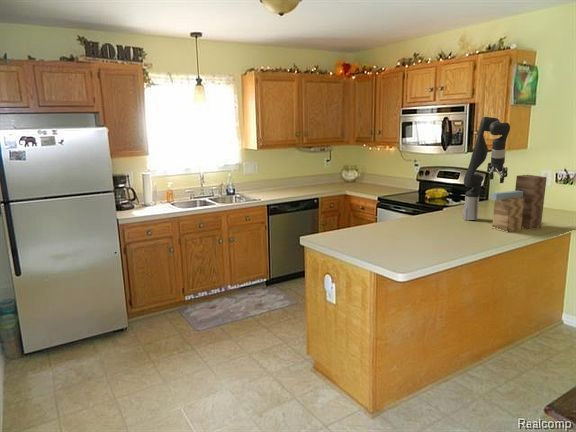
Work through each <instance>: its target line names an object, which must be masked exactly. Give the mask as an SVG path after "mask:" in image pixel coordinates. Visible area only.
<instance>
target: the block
mask: <svg viewBox="0 0 576 432" xmlns="http://www.w3.org/2000/svg"><path fill="white" fill-rule="evenodd" d="M523 206H524V199H523V198H512V199H503V200H494V203H493V213H492V214H493V215H492V225H491V226H492V227H495V228H498V229H501V230H504V231H512V232H517V231H516V230H519V231H522V228H521V225H522V216H523ZM501 230H500V231H501ZM504 231H503V232H504Z"/></svg>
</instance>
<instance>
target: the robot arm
mask: <svg viewBox="0 0 576 432" xmlns="http://www.w3.org/2000/svg"><path fill="white" fill-rule="evenodd" d="M510 130H511V124H510V123H508V122H501V121H500V119H499V118H497V117H491V116H484V117H482V118H481V120H480V124H479V127H478V132H477V136H476V137H477V138H476V141H475V143H474V146H473V149H472V153H471V157H470V161H469V164H468V167H467V170H466V172H465V175H464V177H463V185H464V186H465V188H471V189H470V190H467V191H466V192H465V195H464V196H465V197H464V205H463V210H462V211H463V212H462V219H463V218H464V219H465V220H464V219H463V220H464V221H469V220H476V221H478V219H479V218H478V216H479V203H480V194H481V189H482V188H481V187H482V182H483V179H482V175H481V174H479V173H476V171H477V169H478V168H479V167H480V166H481V165H482V164H484V162H485V161H486V160H487V156H488V153H489V148H488V144H487V143H486V140H485V137H484V133H485V132H487V133H488V132H490V134H491V136H499V137H497V138H495V139H492V142H491V143H492V146H491V147H492V148H491V153H490V154H491V155H490V156H491V157H490V158H491V159H490V162H488V163H487V168H486V172H487V173H489V180H494V176H495V173H496V174H498V175H499V184H504V182H505V178H507V177H508V169H509V168H508V167H507V166H506V167H504V164H505V163H506V144H507V143H506V142H507V138H508V135H509V134H510V132H511V131H510Z"/></svg>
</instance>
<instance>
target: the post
mask: <svg viewBox="0 0 576 432" xmlns="http://www.w3.org/2000/svg"><path fill="white" fill-rule="evenodd" d="M515 178H516V180H515V189H514V191H517V190H519V191H523V197H521V198H523V199H524V206H523V216H522V225H521V227H523V228H522V229H525V228H526V229H525V230H529V229H531V230H537V229H536V228H538V229H542V221H543V213H544V204H545V203H544V202H545V193H546V187H547V186H546V185H547V176H542V175H541V176H539V175H535V174H534V175H533V174H521V175H516V177H515Z"/></svg>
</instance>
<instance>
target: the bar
mask: <svg viewBox="0 0 576 432" xmlns="http://www.w3.org/2000/svg"><path fill="white" fill-rule="evenodd" d="M521 197H523V191H519V190H517V191H515V190H510V191H509V190H508V191H499V192H492V193H491V200H493V201H495V200H503V199H512V198H521Z"/></svg>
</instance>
